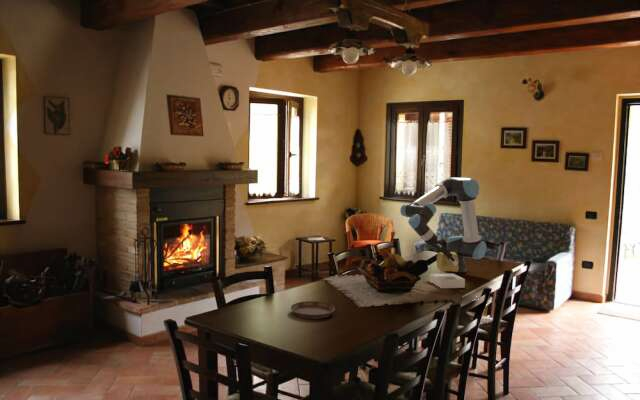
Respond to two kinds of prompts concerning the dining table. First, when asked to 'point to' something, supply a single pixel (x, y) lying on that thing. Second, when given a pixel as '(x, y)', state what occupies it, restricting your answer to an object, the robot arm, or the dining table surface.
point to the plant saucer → (312, 309)
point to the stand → (447, 280)
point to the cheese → (446, 262)
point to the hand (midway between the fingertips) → (451, 262)
